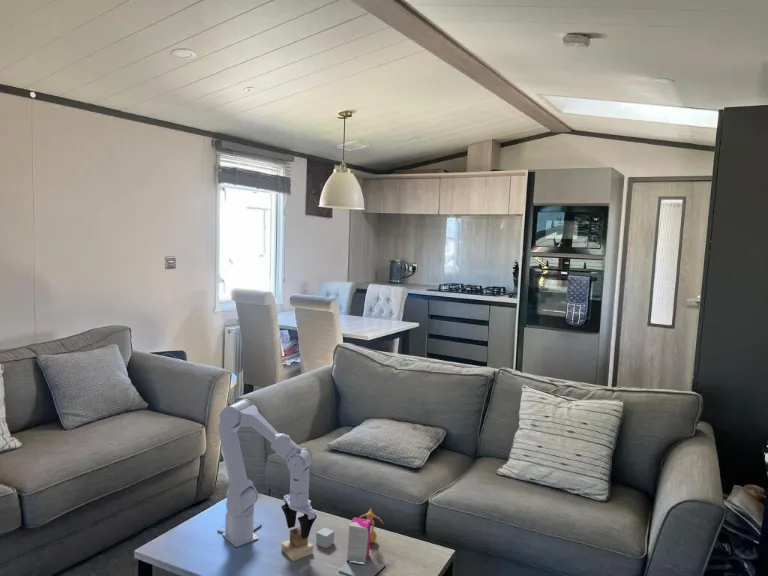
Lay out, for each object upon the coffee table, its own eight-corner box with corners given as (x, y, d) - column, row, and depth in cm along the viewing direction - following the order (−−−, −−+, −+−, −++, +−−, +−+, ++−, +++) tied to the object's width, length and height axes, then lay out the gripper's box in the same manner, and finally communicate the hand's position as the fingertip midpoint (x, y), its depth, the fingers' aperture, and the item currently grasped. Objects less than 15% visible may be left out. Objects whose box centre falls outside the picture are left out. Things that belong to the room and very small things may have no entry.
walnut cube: (289, 542, 170) (289, 530, 170) (300, 538, 173) (301, 526, 173) (296, 548, 167) (296, 535, 167) (307, 544, 170) (307, 531, 170)
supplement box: (365, 565, 164) (367, 528, 164) (346, 562, 166) (347, 525, 165) (370, 554, 170) (371, 519, 169) (351, 551, 171) (352, 516, 170)
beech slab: (281, 551, 171) (281, 542, 170) (300, 544, 175) (301, 535, 175) (292, 562, 165) (293, 552, 165) (312, 554, 170) (313, 545, 169)
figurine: (383, 540, 179) (385, 504, 178) (381, 550, 173) (382, 513, 172) (358, 537, 180) (360, 502, 179) (355, 547, 174) (356, 510, 173)
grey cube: (316, 544, 175) (316, 532, 174) (324, 539, 178) (324, 527, 178) (325, 548, 173) (326, 536, 172) (333, 543, 176) (334, 531, 176)
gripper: (324, 494, 167) (322, 537, 168) (297, 478, 177) (296, 518, 178) (304, 501, 162) (303, 545, 163) (278, 484, 172) (277, 525, 174)
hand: (298, 532), depth 170 cm, fingers open, 7 cm apart
